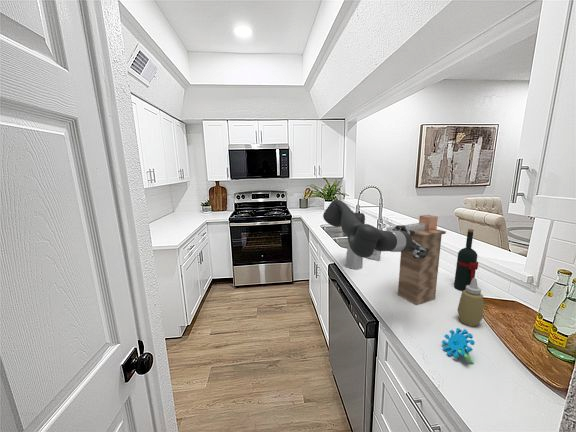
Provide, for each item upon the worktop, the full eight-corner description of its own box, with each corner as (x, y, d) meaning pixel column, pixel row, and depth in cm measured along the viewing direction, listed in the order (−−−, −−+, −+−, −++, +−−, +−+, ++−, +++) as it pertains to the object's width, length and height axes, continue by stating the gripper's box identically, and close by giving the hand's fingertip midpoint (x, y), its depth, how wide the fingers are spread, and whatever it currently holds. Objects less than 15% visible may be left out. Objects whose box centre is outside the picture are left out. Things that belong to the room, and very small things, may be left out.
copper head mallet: (393, 236, 100) (394, 222, 99) (384, 234, 104) (385, 220, 103) (438, 229, 110) (439, 216, 109) (427, 227, 115) (428, 214, 113)
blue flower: (436, 335, 87) (463, 321, 83) (447, 346, 87) (474, 333, 84) (448, 363, 77) (479, 348, 73) (461, 375, 77) (492, 361, 73)
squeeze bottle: (474, 331, 92) (481, 285, 88) (451, 319, 99) (456, 276, 95) (486, 324, 95) (492, 280, 92) (463, 313, 102) (468, 272, 99)
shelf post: (416, 307, 108) (422, 235, 101) (394, 294, 118) (399, 229, 112) (438, 299, 113) (445, 231, 107) (415, 288, 124) (421, 225, 118)
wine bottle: (464, 294, 117) (472, 232, 111) (450, 284, 127) (456, 227, 121) (480, 294, 117) (489, 232, 111) (465, 284, 127) (472, 227, 121)
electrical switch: (365, 258, 166) (366, 244, 165) (368, 256, 170) (369, 243, 169) (379, 261, 160) (380, 247, 159) (381, 259, 164) (383, 246, 163)
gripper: (416, 251, 82) (440, 250, 91) (391, 219, 91) (415, 221, 100) (400, 264, 87) (424, 262, 96) (377, 232, 95) (402, 233, 104)
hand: (420, 241), depth 98 cm, fingers open, 8 cm apart
